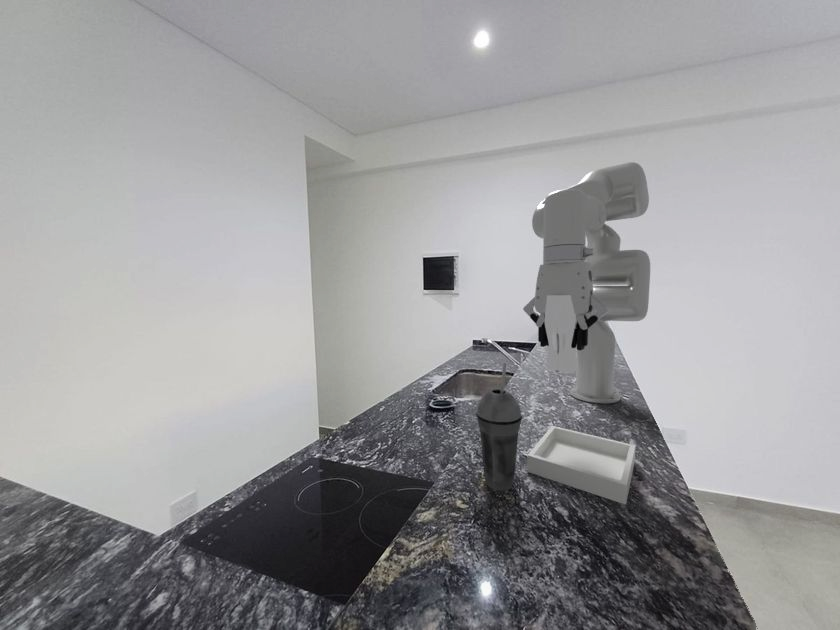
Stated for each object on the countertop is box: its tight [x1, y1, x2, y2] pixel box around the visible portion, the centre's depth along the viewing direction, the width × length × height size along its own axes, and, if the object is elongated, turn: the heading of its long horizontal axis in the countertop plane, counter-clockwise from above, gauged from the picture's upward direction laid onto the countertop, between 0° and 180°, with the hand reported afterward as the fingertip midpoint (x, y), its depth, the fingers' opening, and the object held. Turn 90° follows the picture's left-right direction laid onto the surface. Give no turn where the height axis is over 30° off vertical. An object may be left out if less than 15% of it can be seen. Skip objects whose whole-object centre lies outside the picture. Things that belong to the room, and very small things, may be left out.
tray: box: [526, 425, 636, 505], centre depth 57 cm, size 15×15×3 cm
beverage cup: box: [475, 362, 523, 492], centre depth 53 cm, size 7×7×20 cm
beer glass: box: [543, 295, 580, 374], centre depth 64 cm, size 7×7×15 cm
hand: (562, 346), depth 64 cm, fingers closed on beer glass, 6 cm apart
